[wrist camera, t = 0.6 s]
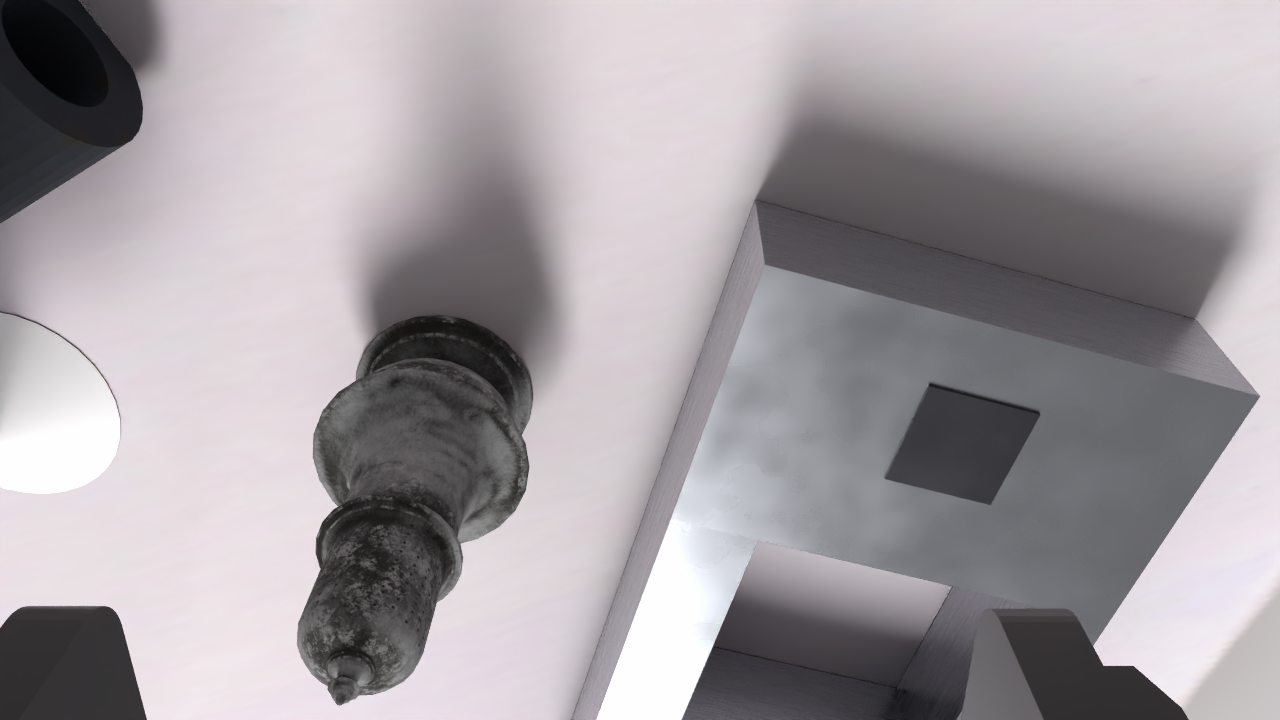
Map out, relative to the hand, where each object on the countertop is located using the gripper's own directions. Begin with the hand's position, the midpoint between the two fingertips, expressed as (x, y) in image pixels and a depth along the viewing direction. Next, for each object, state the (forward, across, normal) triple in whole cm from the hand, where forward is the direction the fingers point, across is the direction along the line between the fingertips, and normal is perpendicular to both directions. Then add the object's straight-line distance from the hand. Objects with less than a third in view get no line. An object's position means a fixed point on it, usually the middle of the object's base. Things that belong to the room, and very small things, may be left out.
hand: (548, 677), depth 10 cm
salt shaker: (+22, +5, +8) cm, 24 cm away
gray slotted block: (+21, -7, +15) cm, 27 cm away
